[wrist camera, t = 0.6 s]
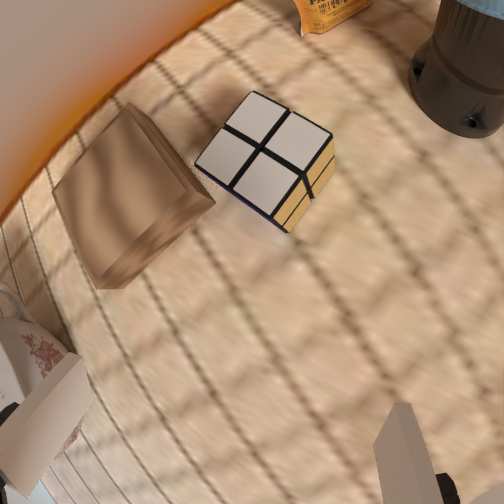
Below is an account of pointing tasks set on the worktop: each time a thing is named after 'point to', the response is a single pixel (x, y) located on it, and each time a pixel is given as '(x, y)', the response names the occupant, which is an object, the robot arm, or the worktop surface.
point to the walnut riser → (127, 199)
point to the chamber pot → (26, 357)
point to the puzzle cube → (270, 159)
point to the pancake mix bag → (327, 13)
